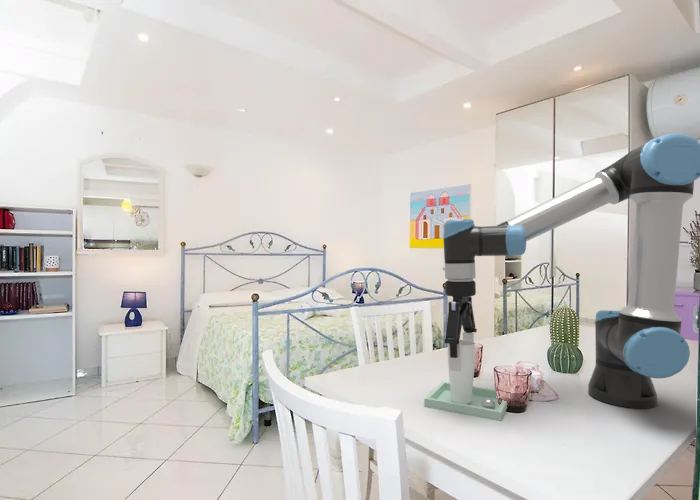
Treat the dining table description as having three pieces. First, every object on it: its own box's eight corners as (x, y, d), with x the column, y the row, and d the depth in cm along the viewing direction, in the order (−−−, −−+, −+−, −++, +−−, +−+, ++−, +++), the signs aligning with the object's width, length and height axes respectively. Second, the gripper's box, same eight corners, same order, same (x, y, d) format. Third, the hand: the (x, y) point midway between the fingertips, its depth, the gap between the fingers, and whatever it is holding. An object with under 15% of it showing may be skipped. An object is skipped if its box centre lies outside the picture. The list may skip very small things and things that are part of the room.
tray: (510, 401, 105) (510, 392, 105) (501, 423, 92) (500, 412, 92) (442, 390, 114) (442, 381, 114) (424, 408, 101) (424, 398, 101)
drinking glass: (476, 407, 100) (476, 346, 100) (447, 405, 101) (447, 344, 101) (474, 397, 107) (474, 340, 106) (447, 395, 108) (447, 338, 108)
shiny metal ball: (496, 410, 98) (496, 397, 98) (494, 415, 95) (494, 401, 95) (482, 408, 99) (482, 395, 99) (480, 412, 97) (480, 399, 97)
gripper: (458, 276, 117) (460, 351, 117) (430, 283, 95) (432, 375, 95) (485, 276, 113) (487, 353, 113) (462, 284, 91) (465, 379, 91)
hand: (462, 363), depth 104 cm, fingers open, 13 cm apart
